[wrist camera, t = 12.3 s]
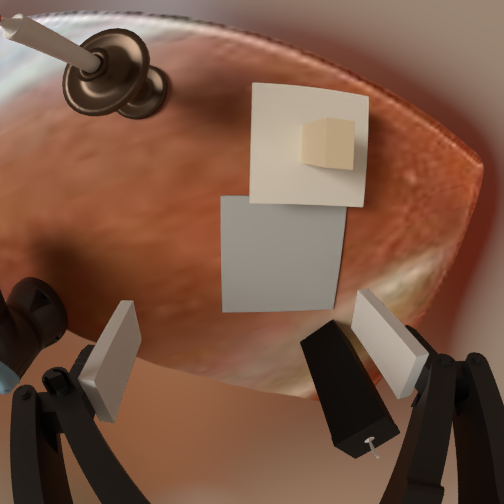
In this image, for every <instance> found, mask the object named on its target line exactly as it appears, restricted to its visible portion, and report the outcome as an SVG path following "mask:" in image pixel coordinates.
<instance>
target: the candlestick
mask: <svg viewBox="0 0 504 504" xmlns="http://www.w3.org/2000/svg"><path fill="white" fill-rule="evenodd" d="M0 26H2V28H3V29H4V32H3V36H4V38H7V39H9V40H12V41H15V42H18V43H20V44H23V45H25V46H28V47H31V48H33V49H36V50H38V51H41V52H43V53H45V54H48V55H50V56H53V57H55V58H57V59H59V60H62V61H64V62H66V63H67V66H66V68H65V71H64V75H63V83H62V87H63V94H64V97H65V100H66V101H67V103H68V105H69V106H70V107H71V108H72V109H73V110H74V111H76V112H78V113H80V114H84V115H88V116H104V115H108V114H111V113H113V112H116V111H117V112H118V113H119V114H120V115H122V116H124V117H126V118H130V119H142V118H145V117H147V116H149V115H151V114H153V113H154V112H155V111H157V110H158V108H159V107H160V106H161V105H162V103H163V102H164V100H165V97H166V94H167V82H166V79H165V77H164V75H163V74H162V72H161V71H160V70H158V69H157V68H156V67H153V66H151V65H150V56H149V51H148V49H147V46H146V44H145V43H144V42H143V41H142V39H141V38H140V37H139V36H138V35H137V34H135V33H134V32H132V31H129V30H127V29H120V28H115V29H108V30H104V31H101V32H99V33H97V34H95V35H93V36H91V37H90V38H88V39H87V40H85V41H84V42H83V43H82V44H81V45H80V46H78V45H77V44H75V43H73V42H72V41H70V40H68V39H67V38H65V37H63V36H61V35H60V34H58V33H56V32H54V31H52V30H51V29H49V28H47V27H45V26H43V25H41V24H40V23H38V22H36V21H34V20H32V19H30V18H28V17H26V16H24V15H22V14H17V15H15V16H14V17H13V18H5V17H3V18H1V16H0Z"/></svg>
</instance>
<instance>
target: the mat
mask: <svg viewBox="0 0 504 504" xmlns="http://www.w3.org/2000/svg"><path fill="white" fill-rule="evenodd" d="M346 208H347V206H328V205H302V204H260V203H249V196H245V195H221V275H222V312H278V311H305V310H325V309H333V306H334V300H335V294H336V288H337V281H338V275H339V268H340V260H341V253H342V245H343V237H344V228H345V218H346Z"/></svg>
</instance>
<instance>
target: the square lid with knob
mask: <svg viewBox="0 0 504 504" xmlns="http://www.w3.org/2000/svg"><path fill="white" fill-rule="evenodd" d="M368 113H369V97H368V96H363V95H358V94H352V93H347V92H341V91H335V90H328V89H321V88H313V87H305V86H295V85H284V84H270V83H252V110H251V151H250V195H249V203H260V204H302V205H328V206H349V207H363V204H364V193H365V181H366V167H367V149H368Z"/></svg>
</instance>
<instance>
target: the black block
mask: <svg viewBox="0 0 504 504" xmlns="http://www.w3.org/2000/svg"><path fill="white" fill-rule="evenodd" d="M300 344H301V347H302V350H303V352H304V355H305V358H306V361H307V364H308V367H309V370H310V373H311V376H312V379H313V382H314V385H315V388H316V391H317V394H318V397H319V400H320V403H321V405H322V408H323V411H324V415H325V418H326V421H327V424H328V427H329V430H330V433H331V436H332V441H333V444H334V446H335V447H337V448H338V449H340V450H342V451H344V452H345V453H347V454H348V455H350V456H352V457H353V458H355V459H356V458H358V457H360V456H362V455H364V454H365V453H367V452H369V451H371V450H372V452H373V454H374V455H375V457H377V458H380V457H379V455H378V454H377V452H376V450H375V448H376V447H378V446H380V445H381V444H383V443H385V442H386V441H388V440H390V439H392V438H393V437H395V436H396V435H398V434H399V433H400V431H399V429H398V427H397V425H396V424H395V423H394V421H393V419H392V417H391V415H390V413H389V411H388V410H387V408H386V406H385V404H384V402H383V401H382V398H381V397H380V395H379V393H378V391H377V389H376V387H375V386H374V384H373V382H372V380H371V378H370V377H369V375H368V373H367V371H366V369H365V368H364V366H363V364H362V362H361V360H360V359H359V357H358V355H357V353H356V351H355V350H354V348H353V346H352V345H351V343H350V341H349V340H348V339H347V337H346V336H345V335H344V333H343V332H342V331H341V330H340V328H339V327H338V326H337V324H336V323H335V322H334V321H333V320H331V321H330V322H328V323H327V324H325V325H324V326H323V327H321V328H320V329H318V330H317V331H315V332H314V333H313V334H311V335H310V336H308V337H307V338H305V339H304V340H302V341H301V342H300Z"/></svg>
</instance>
